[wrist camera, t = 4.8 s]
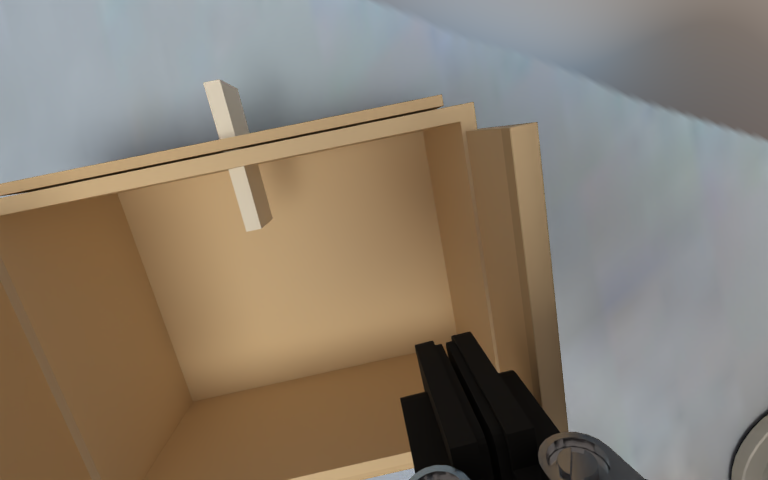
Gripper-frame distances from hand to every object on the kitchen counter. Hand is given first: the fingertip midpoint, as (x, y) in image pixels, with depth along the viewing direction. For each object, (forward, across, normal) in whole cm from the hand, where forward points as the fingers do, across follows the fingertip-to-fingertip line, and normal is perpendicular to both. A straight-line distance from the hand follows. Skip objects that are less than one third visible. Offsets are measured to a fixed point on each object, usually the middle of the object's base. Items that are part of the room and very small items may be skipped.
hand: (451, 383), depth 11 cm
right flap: (+2, -2, 0) cm, 3 cm away
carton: (+15, +6, -1) cm, 16 cm away
